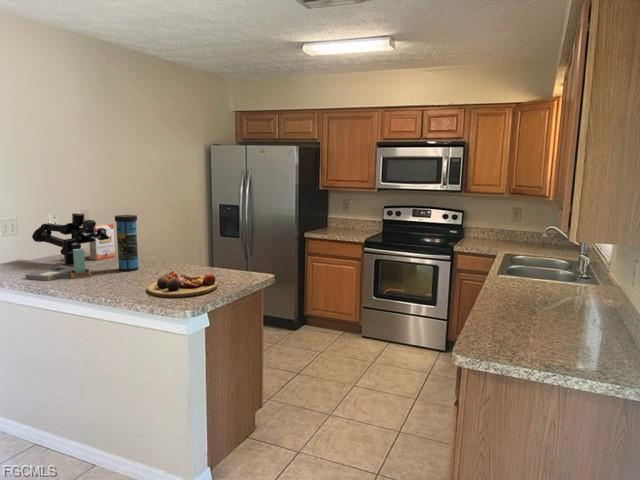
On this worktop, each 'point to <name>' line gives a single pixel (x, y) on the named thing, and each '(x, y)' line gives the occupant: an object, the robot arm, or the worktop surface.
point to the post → (79, 260)
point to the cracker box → (103, 243)
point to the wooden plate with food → (182, 285)
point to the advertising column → (127, 242)
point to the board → (50, 273)
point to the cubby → (80, 274)
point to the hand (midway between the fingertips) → (102, 239)
